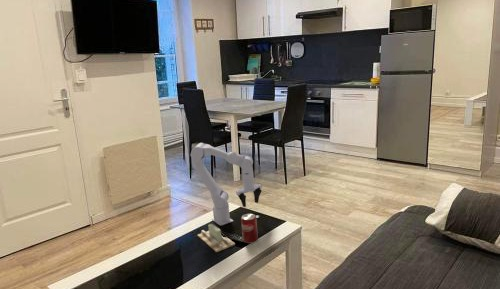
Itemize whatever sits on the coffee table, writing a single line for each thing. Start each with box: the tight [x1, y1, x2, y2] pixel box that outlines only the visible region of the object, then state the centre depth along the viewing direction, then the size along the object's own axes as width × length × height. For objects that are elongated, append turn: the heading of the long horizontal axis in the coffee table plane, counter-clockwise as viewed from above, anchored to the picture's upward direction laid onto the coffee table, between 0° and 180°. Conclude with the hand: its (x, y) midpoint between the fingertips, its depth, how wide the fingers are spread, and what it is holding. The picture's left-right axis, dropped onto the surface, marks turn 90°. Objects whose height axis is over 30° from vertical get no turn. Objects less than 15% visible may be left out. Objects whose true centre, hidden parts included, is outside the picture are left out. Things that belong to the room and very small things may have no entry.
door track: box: [197, 229, 236, 253], centre depth 177 cm, size 20×10×2 cm, turn 33°
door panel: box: [207, 223, 222, 242], centre depth 176 cm, size 9×2×6 cm, turn 33°
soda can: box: [240, 213, 259, 244], centre depth 174 cm, size 7×7×12 cm
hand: (250, 204), depth 192 cm, fingers open, 7 cm apart
